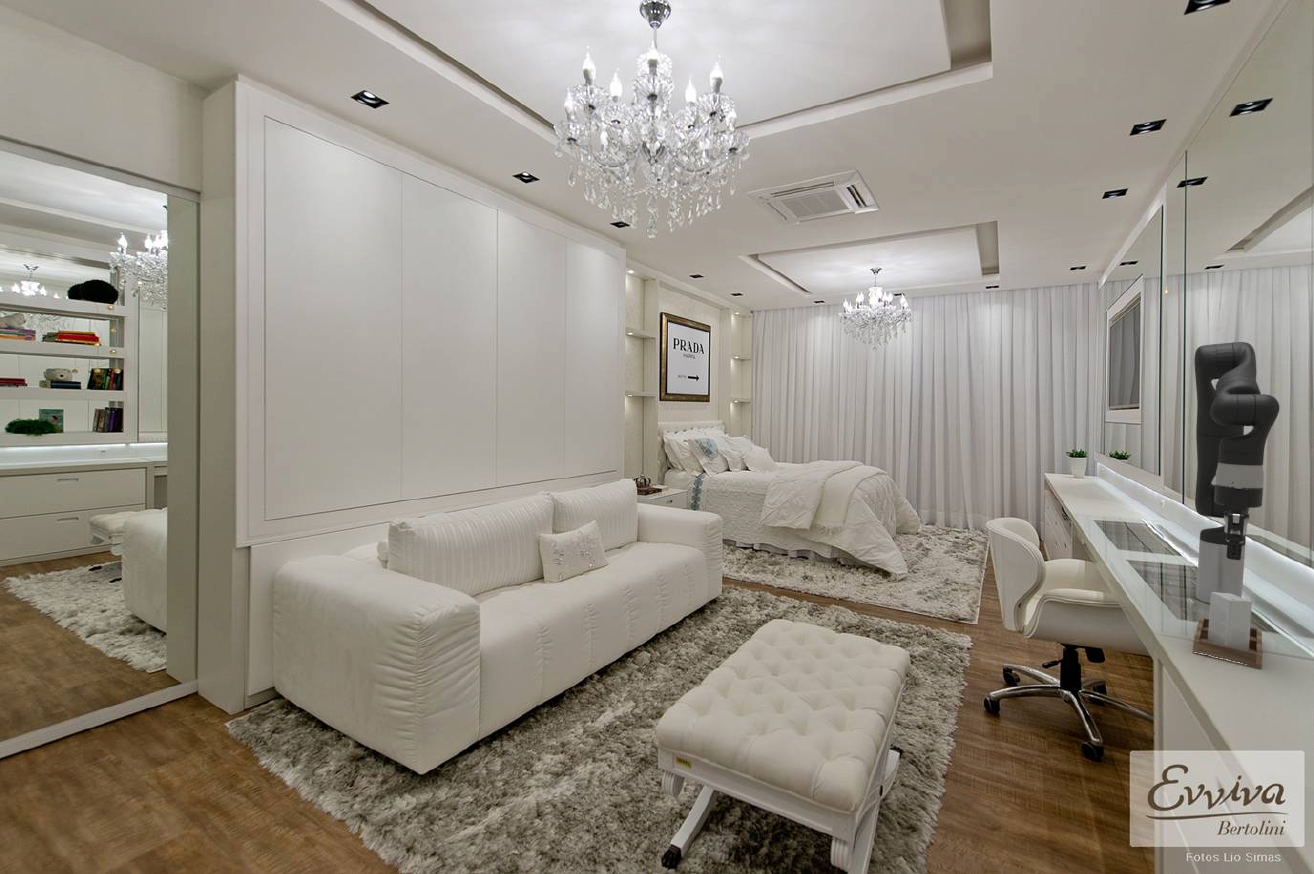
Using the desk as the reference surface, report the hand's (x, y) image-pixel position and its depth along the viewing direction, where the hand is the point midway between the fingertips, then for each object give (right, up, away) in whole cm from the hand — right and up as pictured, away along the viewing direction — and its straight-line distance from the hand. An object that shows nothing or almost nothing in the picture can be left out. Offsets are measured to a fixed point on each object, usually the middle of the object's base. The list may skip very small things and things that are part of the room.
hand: (1234, 555), depth 128 cm
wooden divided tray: (+2, -22, +3) cm, 22 cm away
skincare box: (-1, -21, 0) cm, 21 cm away
